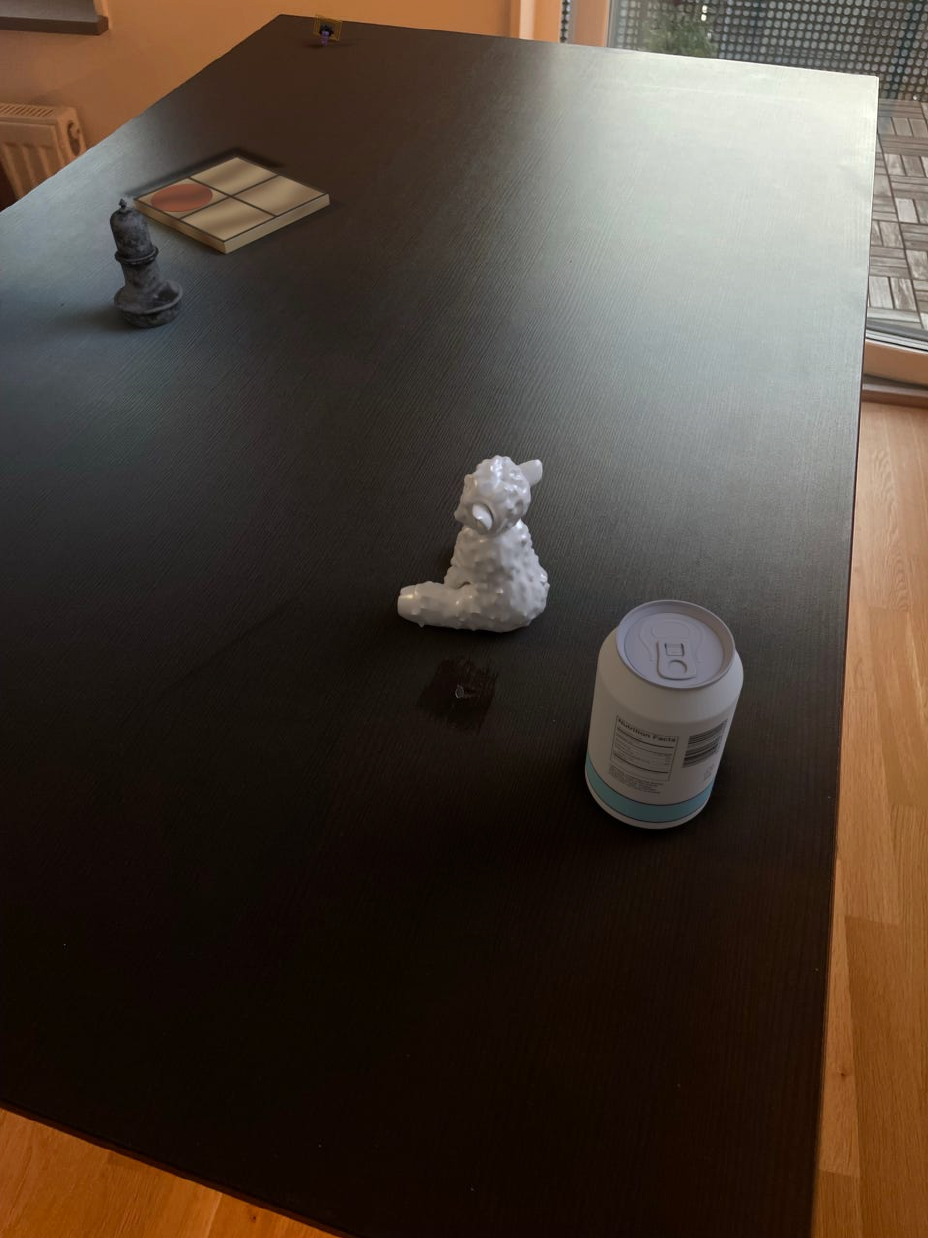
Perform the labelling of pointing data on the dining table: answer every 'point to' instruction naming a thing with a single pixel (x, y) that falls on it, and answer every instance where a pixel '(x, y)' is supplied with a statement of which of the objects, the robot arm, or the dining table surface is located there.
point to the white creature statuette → (487, 557)
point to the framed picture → (326, 29)
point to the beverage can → (661, 713)
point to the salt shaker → (141, 273)
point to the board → (231, 203)
